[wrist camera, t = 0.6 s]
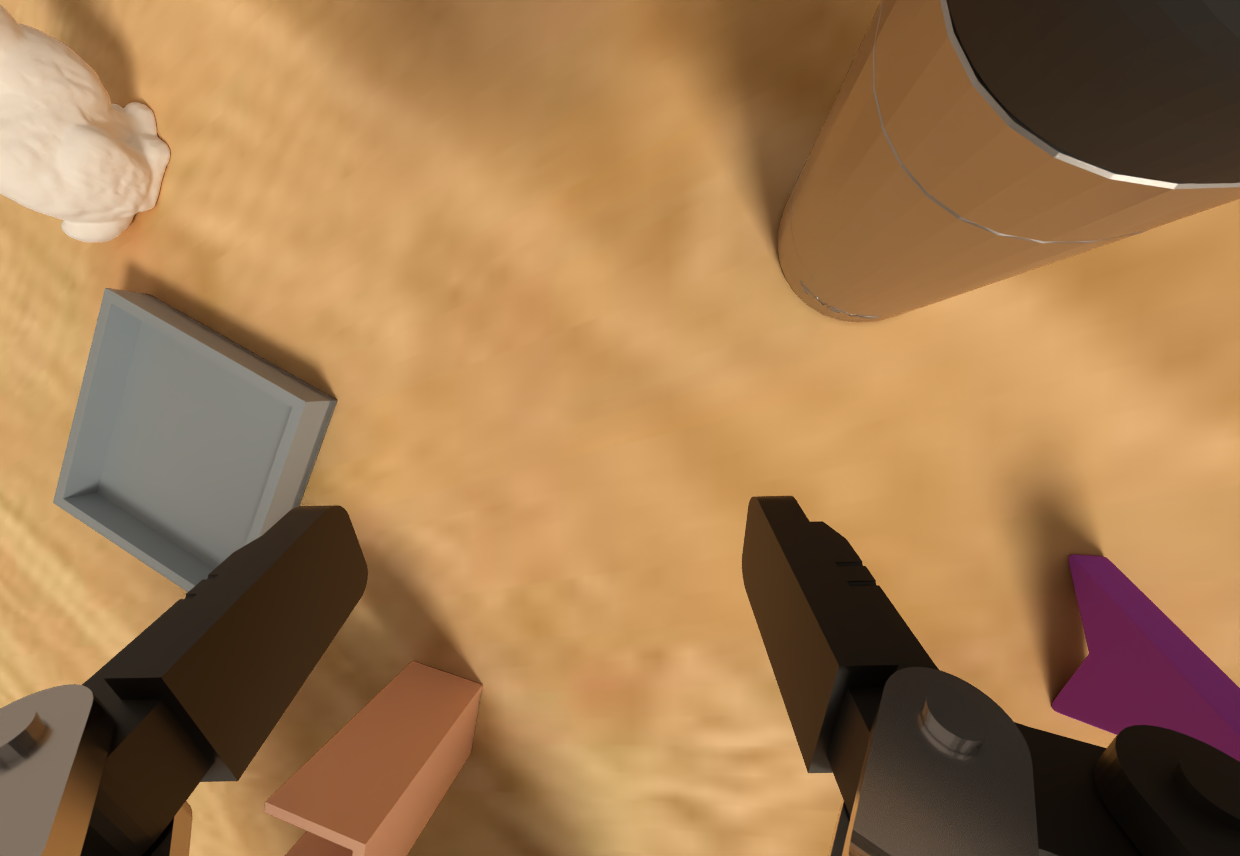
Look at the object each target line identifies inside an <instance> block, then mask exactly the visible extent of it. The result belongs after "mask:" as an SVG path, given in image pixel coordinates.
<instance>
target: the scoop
mask: <svg viewBox="0 0 1240 856" xmlns="http://www.w3.org/2000/svg"><path fill="white" fill-rule="evenodd" d="M481 691H482V684H479V683H476V682H473V681H470V680H467V679H464V678H461V677H458V676H455V675H452V674H450V673H447V672H444V671H441V670H438V669H435V668H432V667H429V666H426V665H423V664H420V663H417V662H414V661H412V662H411V663H410V664H409V665H408V666H407V667H406V668H405V669H404V670H402V671H401V672H400V673H399V674H398V675H397V676H396V677H395V678H394V679H393V680H392V681H391V682H390V683H389V684H388V685H387V686H386V687H385V688H384V689H383V690H382V691H381V692H379V693H378V694H377V695H376V696H375V697H374V698H373V699H372V700H371V701H370V702H369V703H368V704H367V705H366V706H365V707H364V708H363V709H362V710H361V711H360V712H359V713H358V714H357V715H355V716H354V717H353V718H352V719H351V720H350V721H349V722H348V723H347V724H346V725H345V726H344V727H343V728H342V729H341V730H340V731H339V732H338V733H337V734H336V735H335V736H334V737H333V738H331V739H330V740H329V741H328V742H327V743H326V744H325V745H324V746H323V747H322V748H321V749H320V750H319V751H318V752H317V753H316V754H315V755H314V756H313V757H312V758H311V759H310V760H309V761H307V762H306V763H305V764H304V765H303V766H302V767H301V768H300V769H299V770H298V771H297V772H296V773H295V774H294V775H293V776H292V777H291V778H290V779H289V780H288V781H287V782H286V783H284V784H283V785H282V786H281V787H280V788H279V789H278V790H277V791H276V792H275V793H274V794H273V795H272V796H271V797H270V798H269V799H268V800H267V801H266V802H265V810H264V813H267V814H269V815H271V816H274V817H276V818H278V819H281V820H283V821H285V822H288V823H290V824H292V825H295V826H297V827H299V828H302V829H304V830H306V832H305V833H304V835H303V836H302V837H301V838H300V839H299V840H298V841H297V842H296V844H295V845H294V846H293V847H292V848H291V849H290V850H289V851H288V853H287V854H286V855H285V856H407V854H408V853H409V851H410V849H411V848H412V846H413V845H414V843H415V841H416V840H417V838H418V837H419V835H420V834H421V832H422V830H423V829H424V827H425V826H426V824H427V822H428V821H429V819H430V818H431V816H432V814H433V813H434V811H435V810H436V808H437V806H438V805H439V803H440V802H441V800H442V798H443V797H444V795H445V794H446V792H447V791H448V789H449V787H450V786H451V784H452V783H453V781H454V779H455V778H456V776H457V775H458V773H459V771H460V770H461V768H462V767H463V765H464V763H465V762H466V760H467V759H468V757H469V755H470V754H471V750H472V744H473V738H474V732H475V726H476V720H477V714H478V708H479V702H480V697H481Z"/></svg>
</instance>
